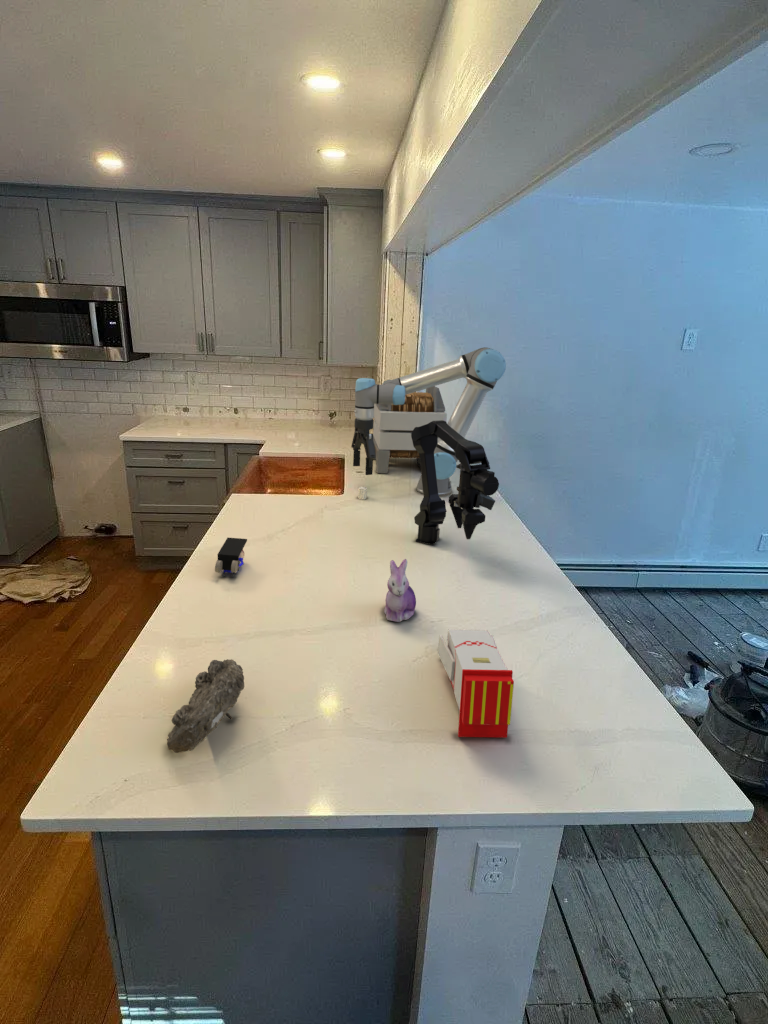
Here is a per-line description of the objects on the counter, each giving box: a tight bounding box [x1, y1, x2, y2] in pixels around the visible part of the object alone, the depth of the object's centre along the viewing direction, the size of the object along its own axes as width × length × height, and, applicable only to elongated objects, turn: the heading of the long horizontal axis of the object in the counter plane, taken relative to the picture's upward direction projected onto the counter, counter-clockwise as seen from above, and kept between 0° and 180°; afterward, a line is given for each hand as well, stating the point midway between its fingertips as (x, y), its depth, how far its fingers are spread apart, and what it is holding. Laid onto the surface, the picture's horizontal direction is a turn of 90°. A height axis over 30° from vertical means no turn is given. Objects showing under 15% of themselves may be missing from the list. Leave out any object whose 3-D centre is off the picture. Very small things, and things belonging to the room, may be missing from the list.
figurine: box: [384, 558, 417, 623], centre depth 145 cm, size 9×10×15 cm
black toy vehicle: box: [214, 537, 248, 578], centre depth 166 cm, size 7×8×15 cm
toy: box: [437, 628, 515, 738], centre depth 117 cm, size 12×13×30 cm
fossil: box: [166, 658, 245, 754], centre depth 106 cm, size 22×10×15 cm
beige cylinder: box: [357, 486, 368, 500], centre depth 235 cm, size 4×4×4 cm
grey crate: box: [372, 380, 448, 474], centre depth 281 cm, size 34×33×41 cm
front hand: (463, 533), depth 177 cm, fingers open, 9 cm apart
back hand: (362, 470), depth 231 cm, fingers open, 13 cm apart
